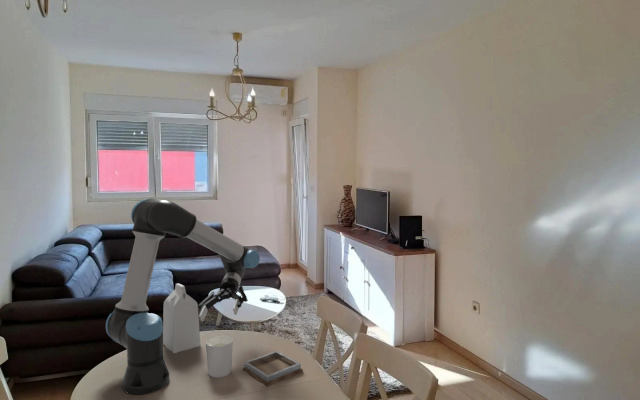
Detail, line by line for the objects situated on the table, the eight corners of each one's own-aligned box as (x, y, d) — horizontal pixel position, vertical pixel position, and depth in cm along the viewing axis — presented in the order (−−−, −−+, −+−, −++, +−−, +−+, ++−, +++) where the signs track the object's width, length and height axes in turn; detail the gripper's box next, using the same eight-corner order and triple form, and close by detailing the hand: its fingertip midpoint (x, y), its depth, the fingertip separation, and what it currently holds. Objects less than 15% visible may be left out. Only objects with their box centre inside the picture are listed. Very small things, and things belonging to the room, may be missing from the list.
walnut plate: (267, 386, 145) (267, 383, 145) (242, 370, 157) (242, 367, 157) (302, 371, 156) (302, 368, 156) (277, 357, 168) (276, 354, 167)
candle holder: (230, 379, 150) (229, 346, 149) (202, 378, 150) (202, 346, 149) (236, 366, 160) (235, 335, 159) (210, 366, 160) (209, 335, 159)
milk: (200, 345, 179) (199, 285, 177) (174, 353, 171) (172, 290, 169) (188, 337, 188) (187, 279, 186) (162, 344, 180) (161, 284, 178)
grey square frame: (267, 382, 146) (267, 377, 146) (244, 367, 157) (243, 362, 157) (300, 368, 156) (300, 363, 156) (276, 355, 167) (276, 350, 167)
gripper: (260, 286, 181) (251, 316, 161) (206, 297, 183) (190, 329, 164) (255, 271, 178) (245, 300, 158) (200, 283, 181) (183, 313, 161)
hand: (217, 315), depth 161 cm, fingers open, 13 cm apart
